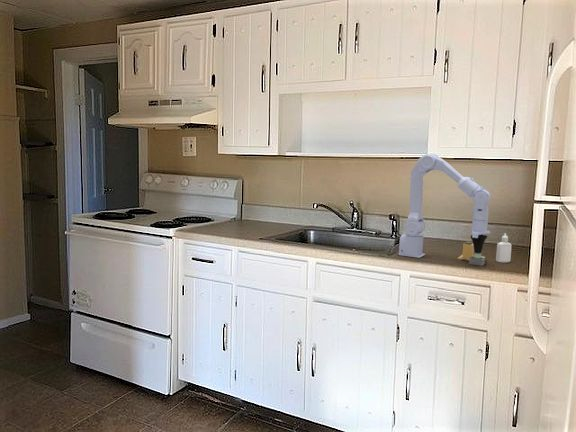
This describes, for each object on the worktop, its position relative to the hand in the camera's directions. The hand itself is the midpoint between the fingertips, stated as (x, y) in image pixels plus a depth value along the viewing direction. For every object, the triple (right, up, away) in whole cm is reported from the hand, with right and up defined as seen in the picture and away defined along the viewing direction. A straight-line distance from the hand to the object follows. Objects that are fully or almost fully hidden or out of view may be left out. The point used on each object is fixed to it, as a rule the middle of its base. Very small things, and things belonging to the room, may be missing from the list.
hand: (477, 252), depth 194 cm
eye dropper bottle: (+12, -4, +5) cm, 14 cm away
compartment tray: (+1, -3, +9) cm, 10 cm away
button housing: (0, -4, +1) cm, 4 cm away
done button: (0, -3, +1) cm, 3 cm away
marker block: (-1, -3, +9) cm, 9 cm away
